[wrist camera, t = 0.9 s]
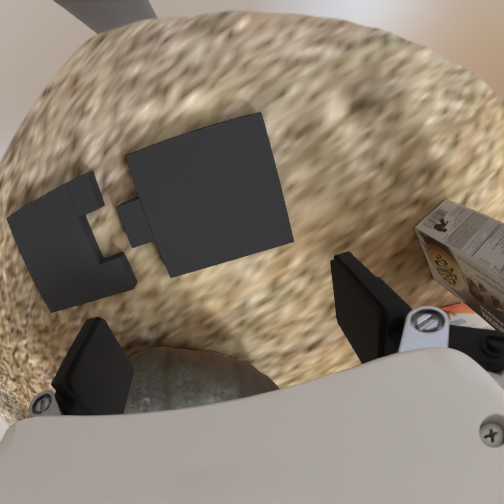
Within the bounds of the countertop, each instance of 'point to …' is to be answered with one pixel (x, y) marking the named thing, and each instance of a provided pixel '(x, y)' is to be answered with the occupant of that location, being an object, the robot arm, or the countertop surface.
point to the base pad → (68, 247)
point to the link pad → (207, 196)
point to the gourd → (190, 379)
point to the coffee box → (467, 257)
